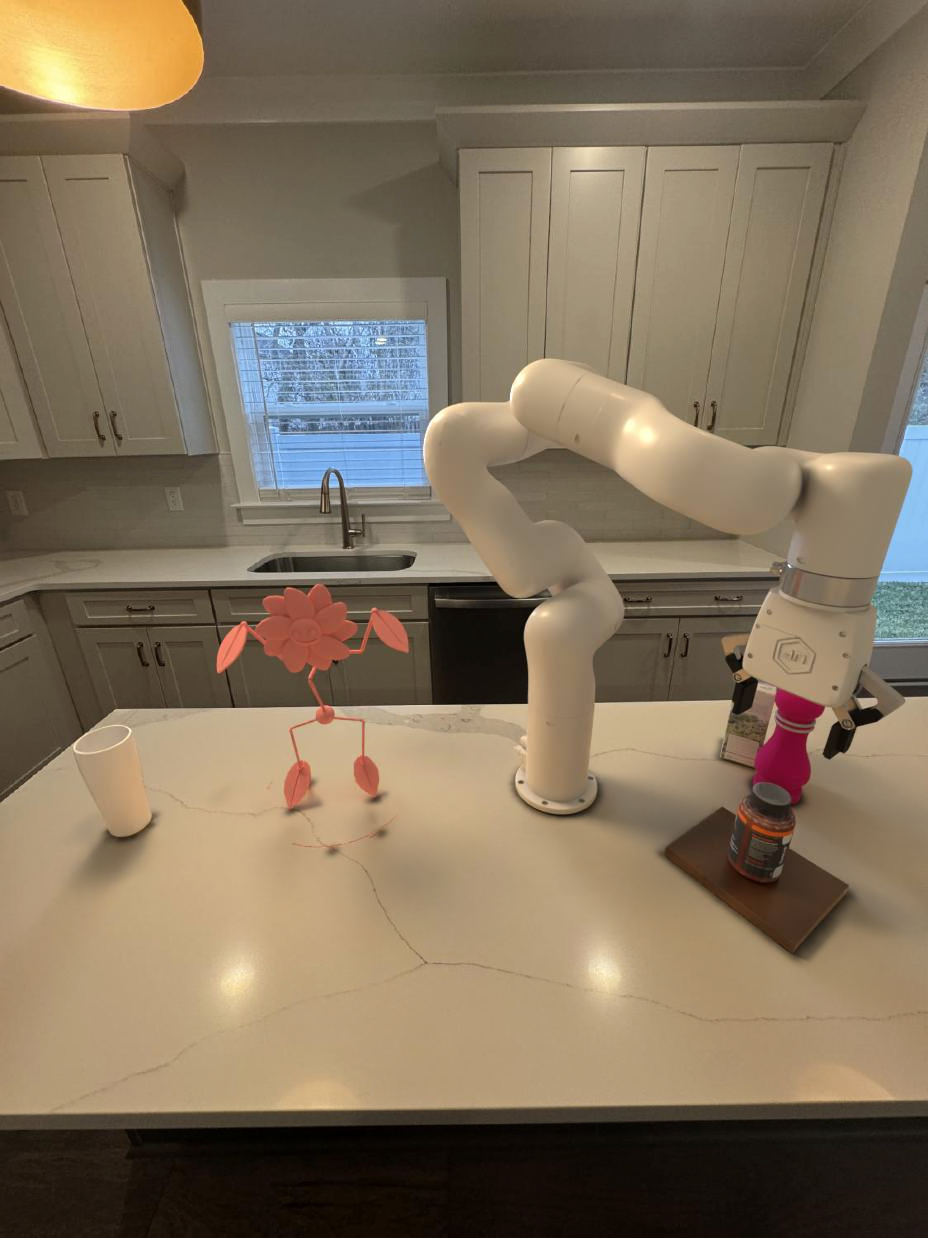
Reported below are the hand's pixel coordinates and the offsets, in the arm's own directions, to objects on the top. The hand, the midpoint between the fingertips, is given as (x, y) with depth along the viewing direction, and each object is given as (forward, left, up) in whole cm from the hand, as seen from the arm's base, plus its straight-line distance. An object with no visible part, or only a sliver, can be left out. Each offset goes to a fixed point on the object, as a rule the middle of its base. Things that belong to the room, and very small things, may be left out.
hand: (784, 730), depth 56 cm
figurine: (-41, -40, -21) cm, 61 cm away
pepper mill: (-6, +18, -21) cm, 29 cm away
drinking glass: (-55, -65, -21) cm, 87 cm away
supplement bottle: (0, 0, -20) cm, 20 cm away
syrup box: (-13, +22, -22) cm, 34 cm away
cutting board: (0, 0, -21) cm, 21 cm away
